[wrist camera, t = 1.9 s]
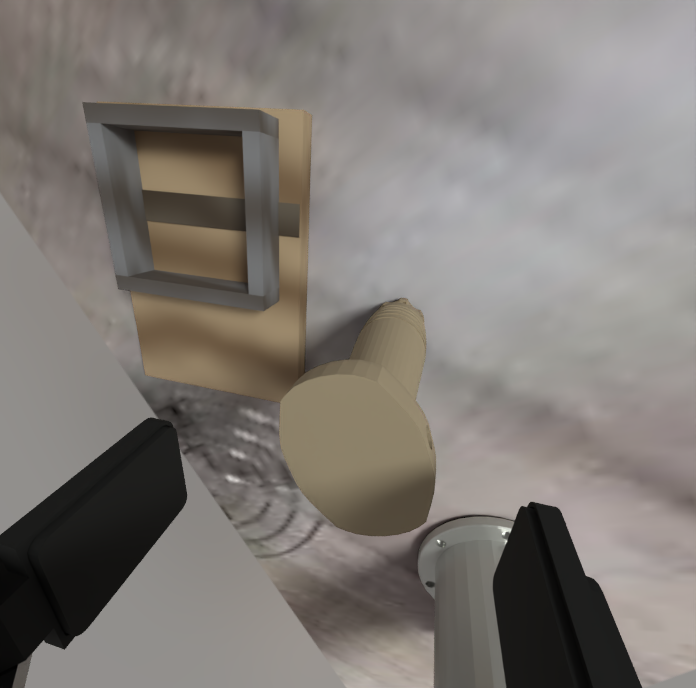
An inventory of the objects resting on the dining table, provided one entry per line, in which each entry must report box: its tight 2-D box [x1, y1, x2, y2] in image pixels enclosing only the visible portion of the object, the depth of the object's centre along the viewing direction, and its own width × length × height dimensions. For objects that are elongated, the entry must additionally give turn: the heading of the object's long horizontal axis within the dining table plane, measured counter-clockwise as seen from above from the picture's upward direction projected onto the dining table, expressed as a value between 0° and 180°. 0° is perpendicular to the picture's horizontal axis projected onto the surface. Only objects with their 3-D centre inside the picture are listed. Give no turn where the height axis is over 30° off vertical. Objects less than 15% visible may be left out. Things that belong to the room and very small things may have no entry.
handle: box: [279, 298, 436, 536], centre depth 18 cm, size 5×6×15 cm
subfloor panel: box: [82, 102, 312, 403], centre depth 25 cm, size 20×14×4 cm
